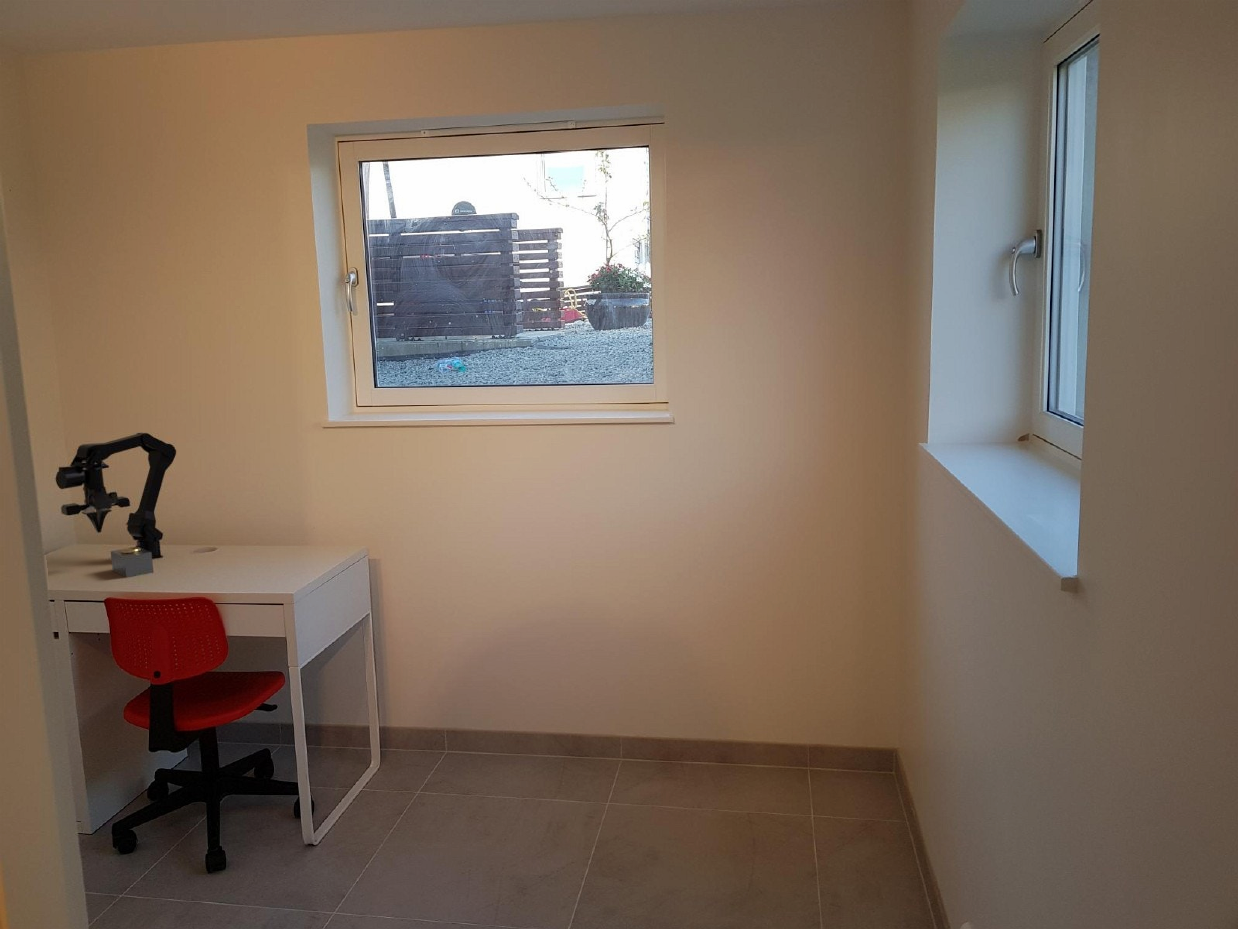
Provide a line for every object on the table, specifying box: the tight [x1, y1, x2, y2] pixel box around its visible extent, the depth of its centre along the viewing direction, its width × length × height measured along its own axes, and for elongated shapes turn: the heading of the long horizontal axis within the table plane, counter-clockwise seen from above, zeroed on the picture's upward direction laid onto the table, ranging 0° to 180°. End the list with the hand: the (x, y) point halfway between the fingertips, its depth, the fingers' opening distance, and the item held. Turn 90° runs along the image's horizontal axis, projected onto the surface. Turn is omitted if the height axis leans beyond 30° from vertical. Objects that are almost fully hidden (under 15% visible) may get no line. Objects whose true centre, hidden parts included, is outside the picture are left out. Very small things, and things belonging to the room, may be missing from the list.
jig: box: [110, 548, 154, 578], centre depth 311 cm, size 8×12×6 cm, turn 45°
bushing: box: [120, 546, 141, 554], centre depth 311 cm, size 6×6×7 cm
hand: (99, 532), depth 314 cm, fingers closed
